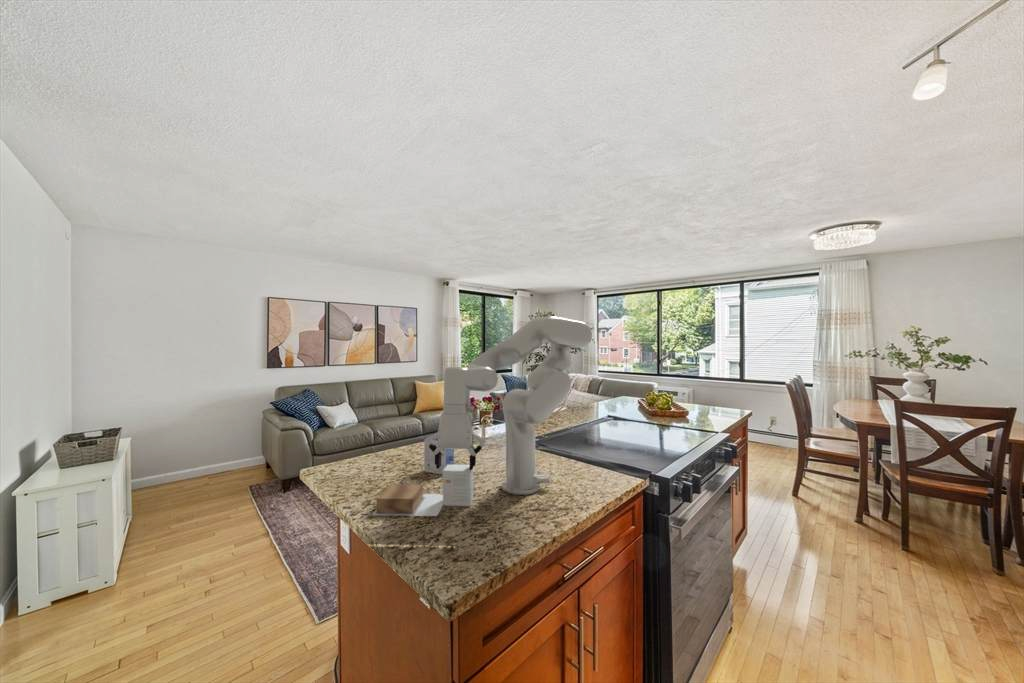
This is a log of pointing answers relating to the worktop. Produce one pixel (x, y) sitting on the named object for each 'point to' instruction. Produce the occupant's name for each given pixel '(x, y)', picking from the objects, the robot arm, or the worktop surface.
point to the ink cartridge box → (429, 458)
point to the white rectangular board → (424, 506)
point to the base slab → (399, 498)
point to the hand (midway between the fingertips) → (455, 467)
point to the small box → (457, 485)
